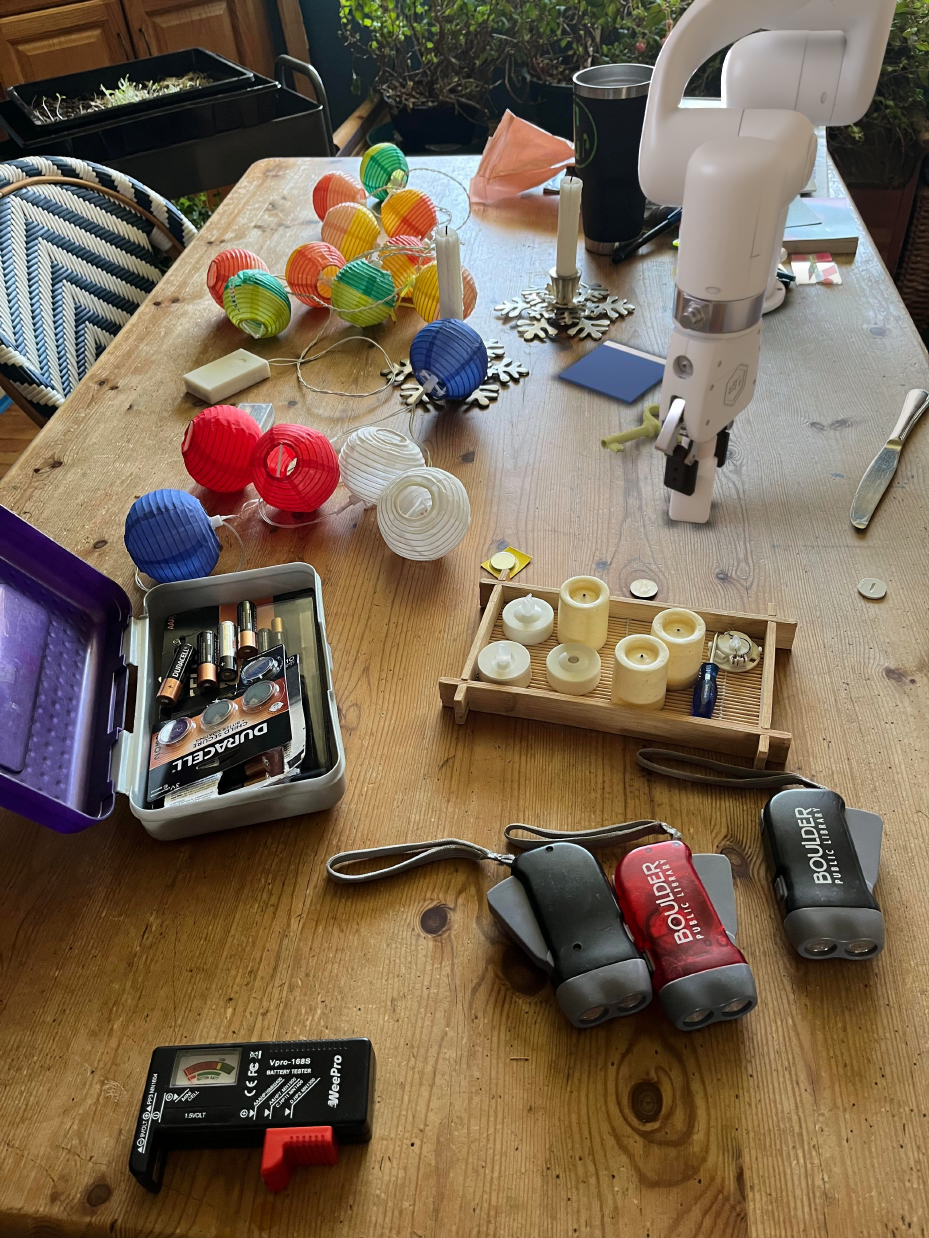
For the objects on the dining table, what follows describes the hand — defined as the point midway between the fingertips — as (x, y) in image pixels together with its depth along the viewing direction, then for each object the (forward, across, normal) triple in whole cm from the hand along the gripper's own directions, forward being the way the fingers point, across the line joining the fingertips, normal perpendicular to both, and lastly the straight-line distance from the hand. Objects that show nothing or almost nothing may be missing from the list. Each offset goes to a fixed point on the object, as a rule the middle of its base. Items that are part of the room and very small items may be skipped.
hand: (694, 474), depth 87 cm
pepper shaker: (+5, 0, 0) cm, 5 cm away
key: (+5, +9, +11) cm, 15 cm away
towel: (+5, +19, +22) cm, 29 cm away
